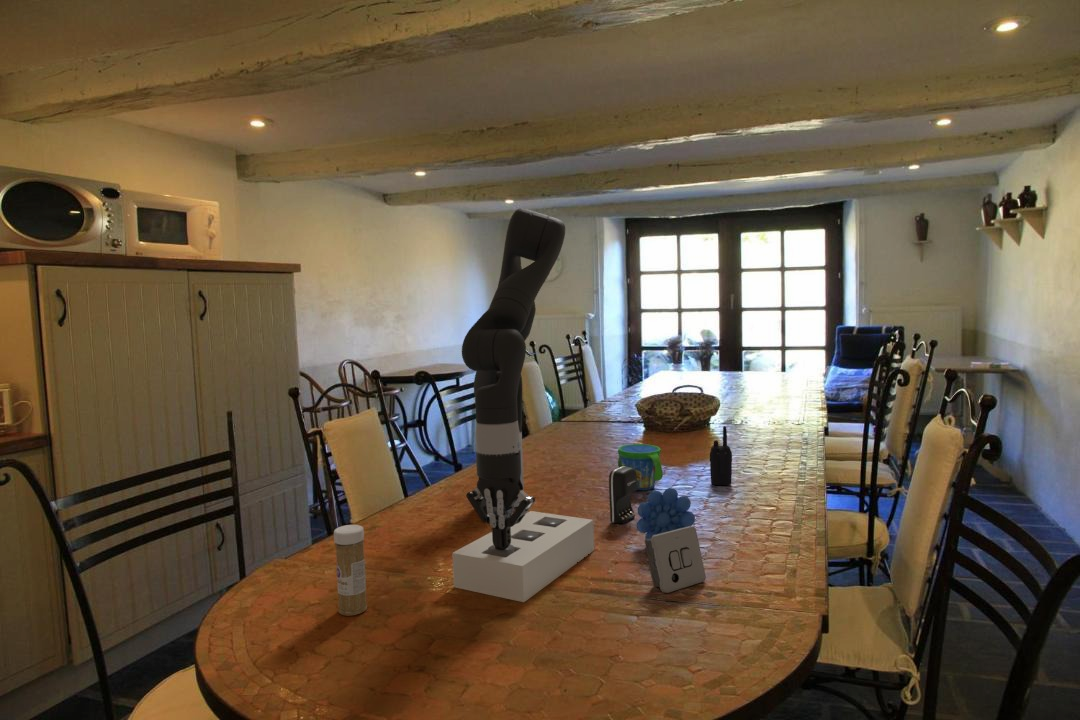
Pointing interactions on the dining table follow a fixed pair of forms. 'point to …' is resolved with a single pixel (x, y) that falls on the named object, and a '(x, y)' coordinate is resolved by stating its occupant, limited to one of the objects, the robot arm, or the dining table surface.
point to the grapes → (664, 513)
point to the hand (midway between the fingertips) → (502, 548)
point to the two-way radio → (721, 462)
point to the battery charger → (621, 493)
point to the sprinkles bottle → (350, 569)
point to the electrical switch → (675, 559)
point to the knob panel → (524, 557)
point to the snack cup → (642, 463)
